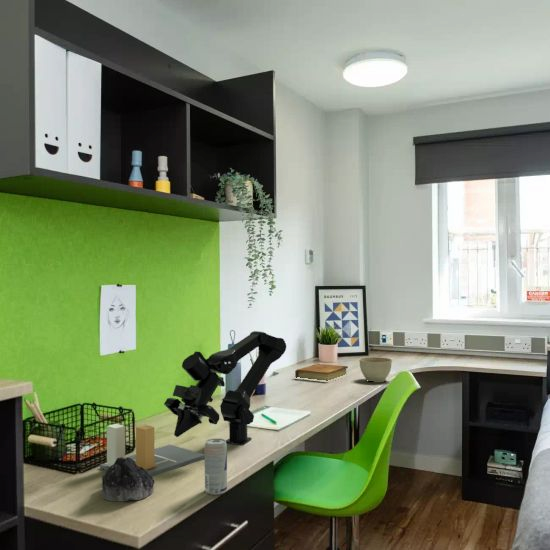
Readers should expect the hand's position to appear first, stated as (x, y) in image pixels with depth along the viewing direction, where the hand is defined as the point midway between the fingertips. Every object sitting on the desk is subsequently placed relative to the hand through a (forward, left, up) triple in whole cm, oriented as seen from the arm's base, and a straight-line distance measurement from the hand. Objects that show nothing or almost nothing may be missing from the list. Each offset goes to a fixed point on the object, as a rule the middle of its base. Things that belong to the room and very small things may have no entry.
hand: (175, 436), depth 158 cm
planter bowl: (-142, +31, -7) cm, 145 cm away
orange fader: (+10, -4, -6) cm, 12 cm away
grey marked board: (+3, -5, -7) cm, 9 cm away
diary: (-143, +3, -8) cm, 143 cm away
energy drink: (+16, +21, -7) cm, 27 cm away
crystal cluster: (+24, +1, -7) cm, 26 cm away
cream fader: (+11, -12, -6) cm, 17 cm away
